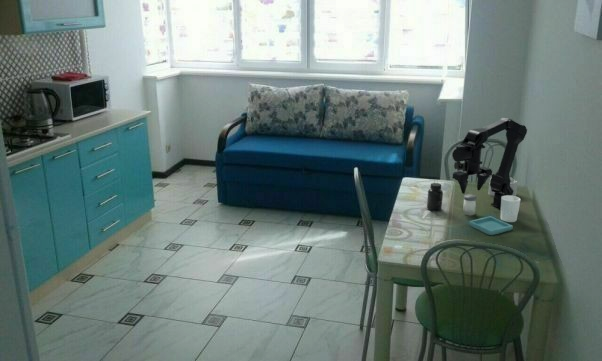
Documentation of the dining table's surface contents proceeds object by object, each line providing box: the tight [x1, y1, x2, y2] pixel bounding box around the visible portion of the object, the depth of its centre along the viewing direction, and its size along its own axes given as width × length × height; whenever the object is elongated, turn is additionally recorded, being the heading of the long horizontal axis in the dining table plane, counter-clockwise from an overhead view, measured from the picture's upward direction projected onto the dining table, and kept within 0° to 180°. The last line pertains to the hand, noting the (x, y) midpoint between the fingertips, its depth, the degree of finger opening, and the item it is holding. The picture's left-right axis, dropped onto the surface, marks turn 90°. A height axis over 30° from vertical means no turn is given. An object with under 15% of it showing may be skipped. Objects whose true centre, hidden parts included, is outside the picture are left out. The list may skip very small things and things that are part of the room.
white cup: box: [500, 195, 521, 223], centre depth 244 cm, size 8×8×10 cm
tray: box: [468, 215, 514, 236], centre depth 237 cm, size 13×13×2 cm
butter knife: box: [421, 209, 431, 220], centre depth 246 cm, size 1×24×3 cm
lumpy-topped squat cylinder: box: [488, 177, 518, 197], centre depth 277 cm, size 10×13×9 cm
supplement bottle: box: [426, 182, 444, 212], centre depth 257 cm, size 7×7×12 cm
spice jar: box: [462, 194, 477, 216], centre depth 252 cm, size 5×5×8 cm
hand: (470, 191), depth 250 cm, fingers open, 9 cm apart
